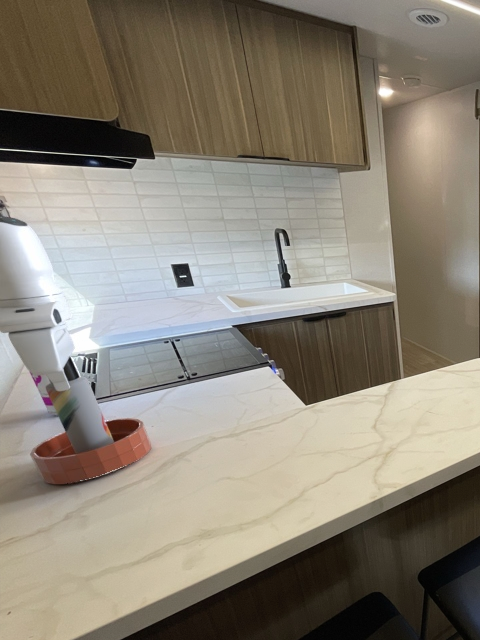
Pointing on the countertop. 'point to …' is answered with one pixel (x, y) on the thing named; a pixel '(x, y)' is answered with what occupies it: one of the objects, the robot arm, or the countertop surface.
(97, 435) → the lotion bottle
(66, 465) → the bowl
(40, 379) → the supplement can
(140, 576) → the countertop surface
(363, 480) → the countertop surface
